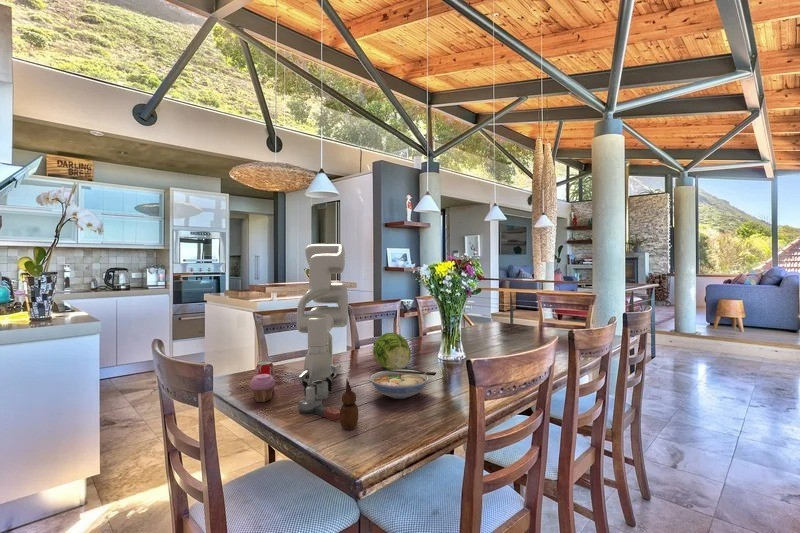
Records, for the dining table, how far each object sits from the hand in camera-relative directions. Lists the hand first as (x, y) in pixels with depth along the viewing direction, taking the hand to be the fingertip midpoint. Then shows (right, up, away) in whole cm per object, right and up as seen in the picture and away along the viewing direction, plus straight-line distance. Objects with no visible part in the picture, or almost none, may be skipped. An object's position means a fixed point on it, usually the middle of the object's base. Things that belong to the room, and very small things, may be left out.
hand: (318, 393), depth 157 cm
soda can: (-23, -2, +7) cm, 24 cm away
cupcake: (-20, -2, -3) cm, 21 cm away
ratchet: (+4, -2, -16) cm, 17 cm away
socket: (0, -2, 0) cm, 2 cm away
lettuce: (+28, -1, +40) cm, 49 cm away
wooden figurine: (+15, -2, -28) cm, 32 cm away
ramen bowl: (+31, -2, +1) cm, 31 cm away
